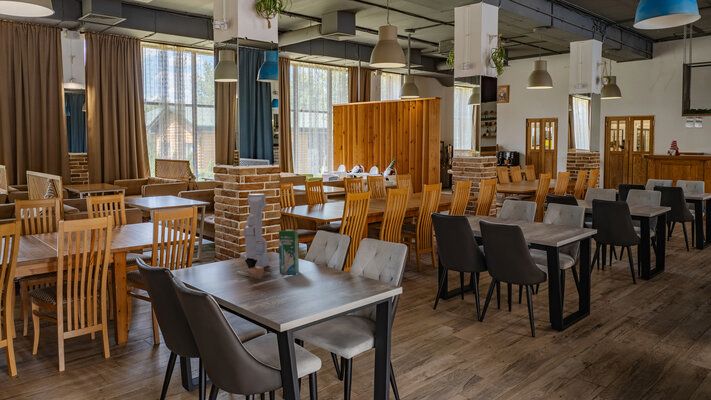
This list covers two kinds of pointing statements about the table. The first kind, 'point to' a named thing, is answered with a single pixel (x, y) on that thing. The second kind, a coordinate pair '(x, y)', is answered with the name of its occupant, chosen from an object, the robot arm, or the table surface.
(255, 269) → the block
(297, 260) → the milk carton
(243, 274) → the chute
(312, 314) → the table surface
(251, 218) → the robot arm
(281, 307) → the table surface
